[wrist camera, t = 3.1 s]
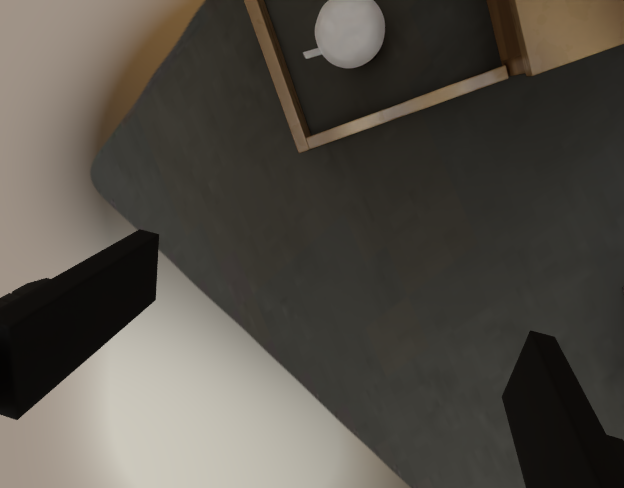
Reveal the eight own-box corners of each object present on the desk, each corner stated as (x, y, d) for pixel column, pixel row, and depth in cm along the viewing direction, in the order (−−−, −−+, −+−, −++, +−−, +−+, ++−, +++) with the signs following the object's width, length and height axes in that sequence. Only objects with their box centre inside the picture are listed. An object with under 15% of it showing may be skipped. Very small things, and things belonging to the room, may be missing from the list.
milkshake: (314, 40, 38) (285, 22, 28) (371, 0, 36) (359, -33, 27) (342, 90, 38) (322, 88, 29) (399, 53, 37) (397, 38, 27)
